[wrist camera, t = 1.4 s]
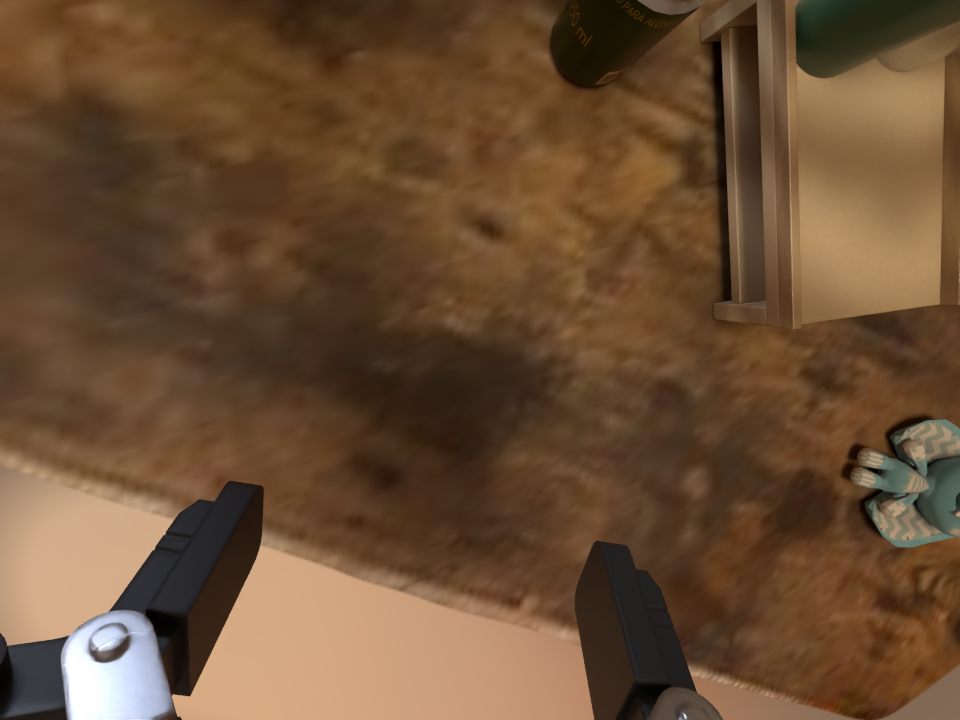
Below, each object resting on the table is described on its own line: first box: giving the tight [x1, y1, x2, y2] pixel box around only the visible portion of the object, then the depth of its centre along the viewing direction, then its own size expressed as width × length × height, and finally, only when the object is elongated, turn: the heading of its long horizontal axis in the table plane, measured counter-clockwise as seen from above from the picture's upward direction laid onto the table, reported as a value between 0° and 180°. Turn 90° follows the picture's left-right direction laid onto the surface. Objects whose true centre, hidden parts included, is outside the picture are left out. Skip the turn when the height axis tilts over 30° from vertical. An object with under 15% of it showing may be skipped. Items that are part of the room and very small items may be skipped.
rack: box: [700, 0, 960, 330], centre depth 31 cm, size 20×12×19 cm, turn 7°
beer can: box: [551, 0, 706, 87], centre depth 31 cm, size 5×5×12 cm
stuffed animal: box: [850, 419, 960, 547], centre depth 43 cm, size 11×7×12 cm
